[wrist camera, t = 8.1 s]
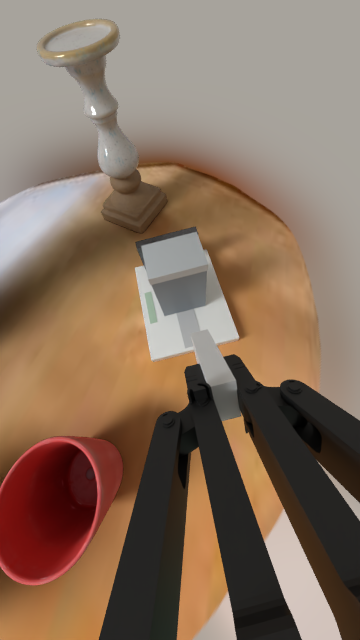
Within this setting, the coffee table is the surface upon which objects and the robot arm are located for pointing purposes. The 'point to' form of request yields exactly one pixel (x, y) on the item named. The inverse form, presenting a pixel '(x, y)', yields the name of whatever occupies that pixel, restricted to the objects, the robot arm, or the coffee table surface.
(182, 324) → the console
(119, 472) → the flower pot
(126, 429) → the coffee table surface
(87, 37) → the candle holder
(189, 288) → the grey rectangular block
